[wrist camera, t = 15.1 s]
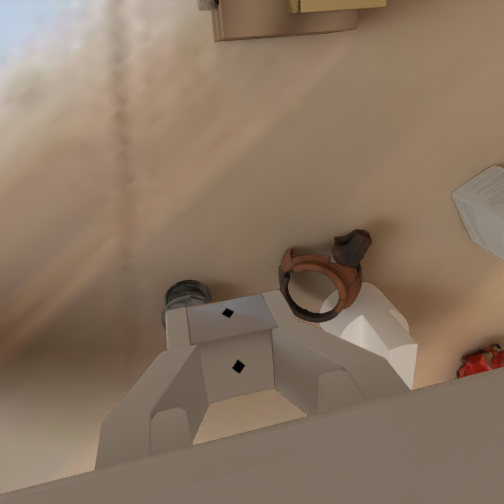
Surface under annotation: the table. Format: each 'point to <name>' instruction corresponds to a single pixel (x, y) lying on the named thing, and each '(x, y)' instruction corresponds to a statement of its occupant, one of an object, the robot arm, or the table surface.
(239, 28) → the hitch block
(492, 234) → the skincare box
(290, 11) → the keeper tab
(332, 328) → the base with upright slab
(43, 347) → the table surface
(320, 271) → the brown grey sculpted ring
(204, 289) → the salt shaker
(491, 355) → the dragon fruit
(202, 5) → the pin
